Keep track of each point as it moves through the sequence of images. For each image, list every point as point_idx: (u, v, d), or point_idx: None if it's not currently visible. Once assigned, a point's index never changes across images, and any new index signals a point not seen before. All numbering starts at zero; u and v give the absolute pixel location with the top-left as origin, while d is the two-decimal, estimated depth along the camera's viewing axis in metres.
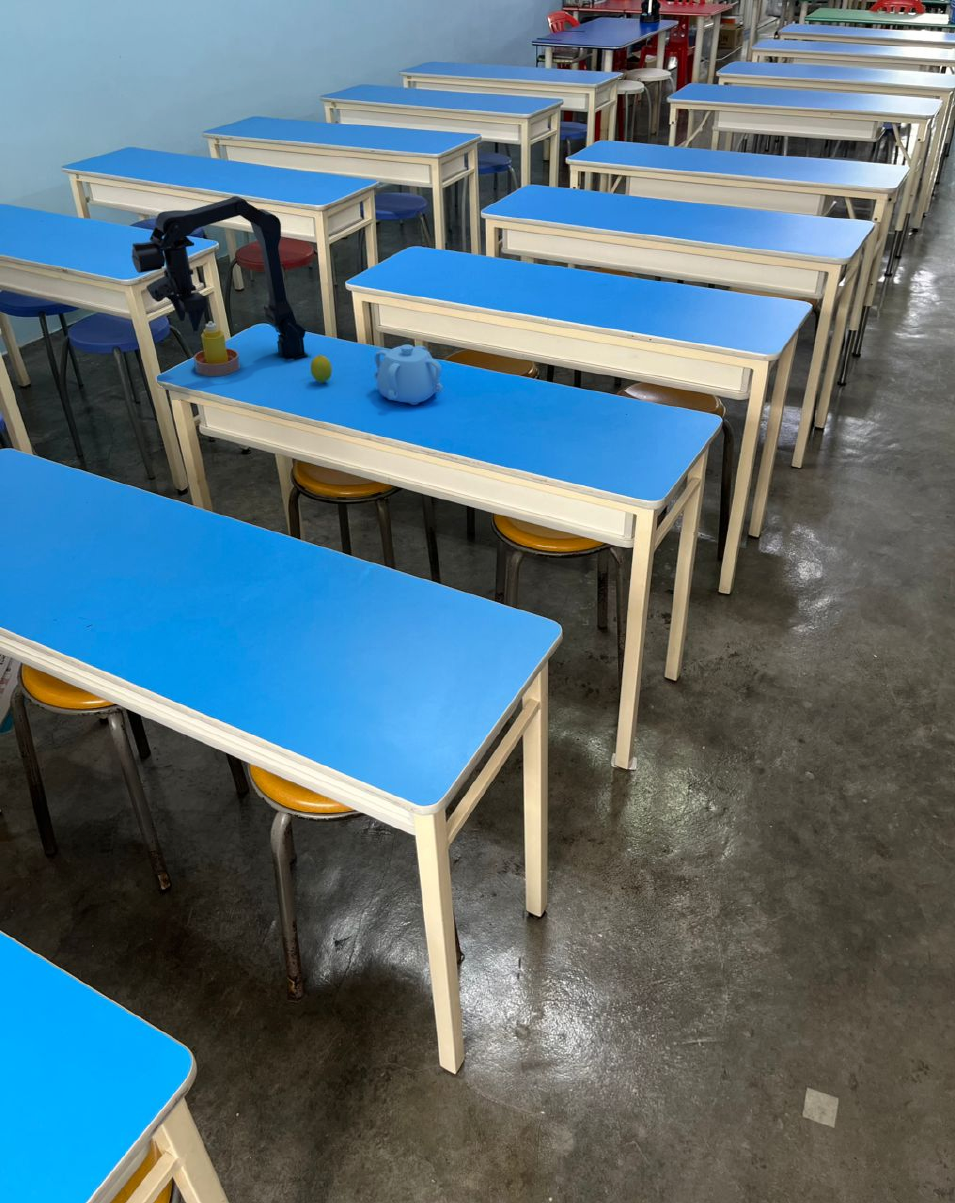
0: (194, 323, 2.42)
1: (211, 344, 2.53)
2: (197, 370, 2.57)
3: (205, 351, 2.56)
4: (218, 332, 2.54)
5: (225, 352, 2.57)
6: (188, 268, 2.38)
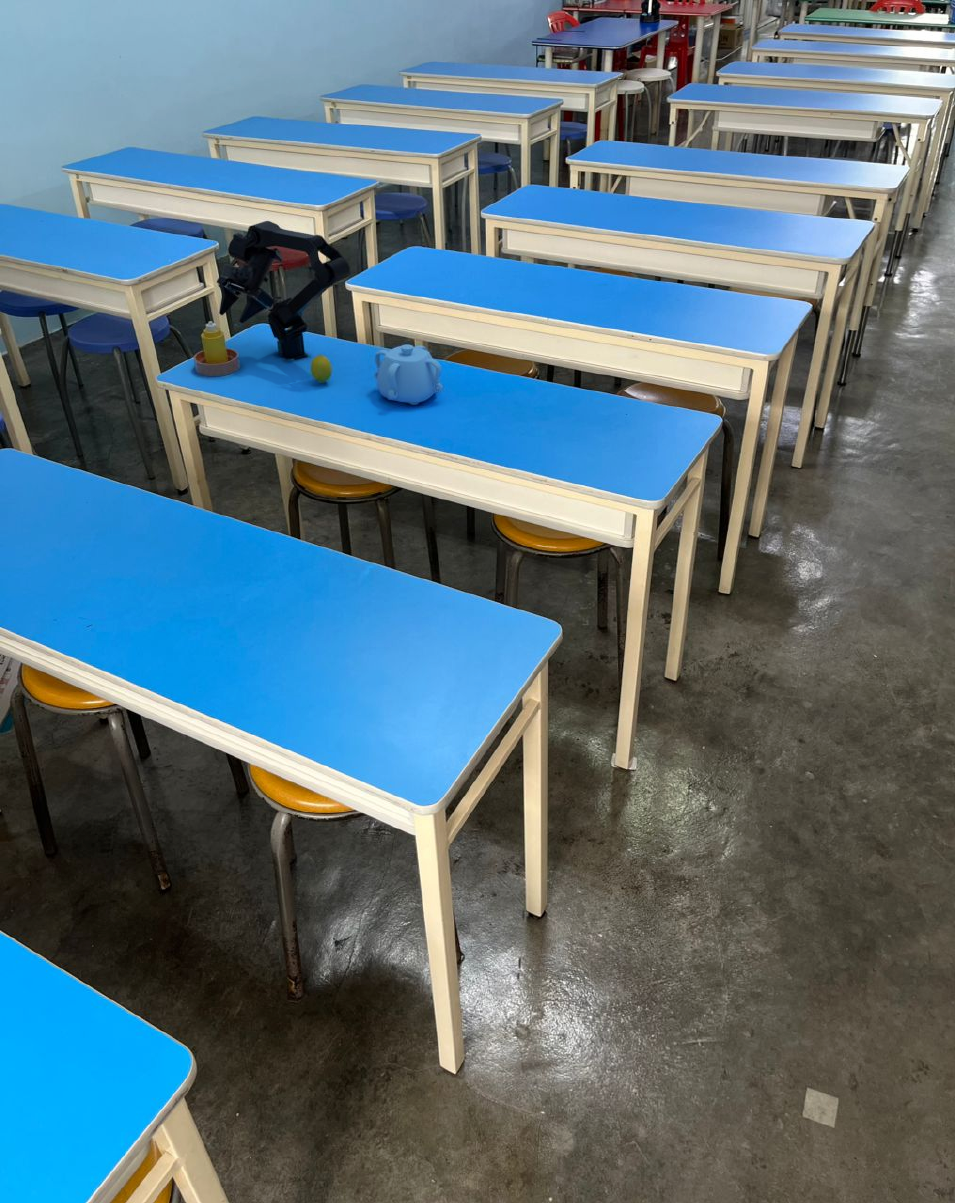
0: (246, 315, 2.54)
1: (211, 344, 2.53)
2: (197, 370, 2.57)
3: (205, 351, 2.56)
4: (218, 332, 2.54)
5: (225, 352, 2.57)
6: (266, 275, 2.57)
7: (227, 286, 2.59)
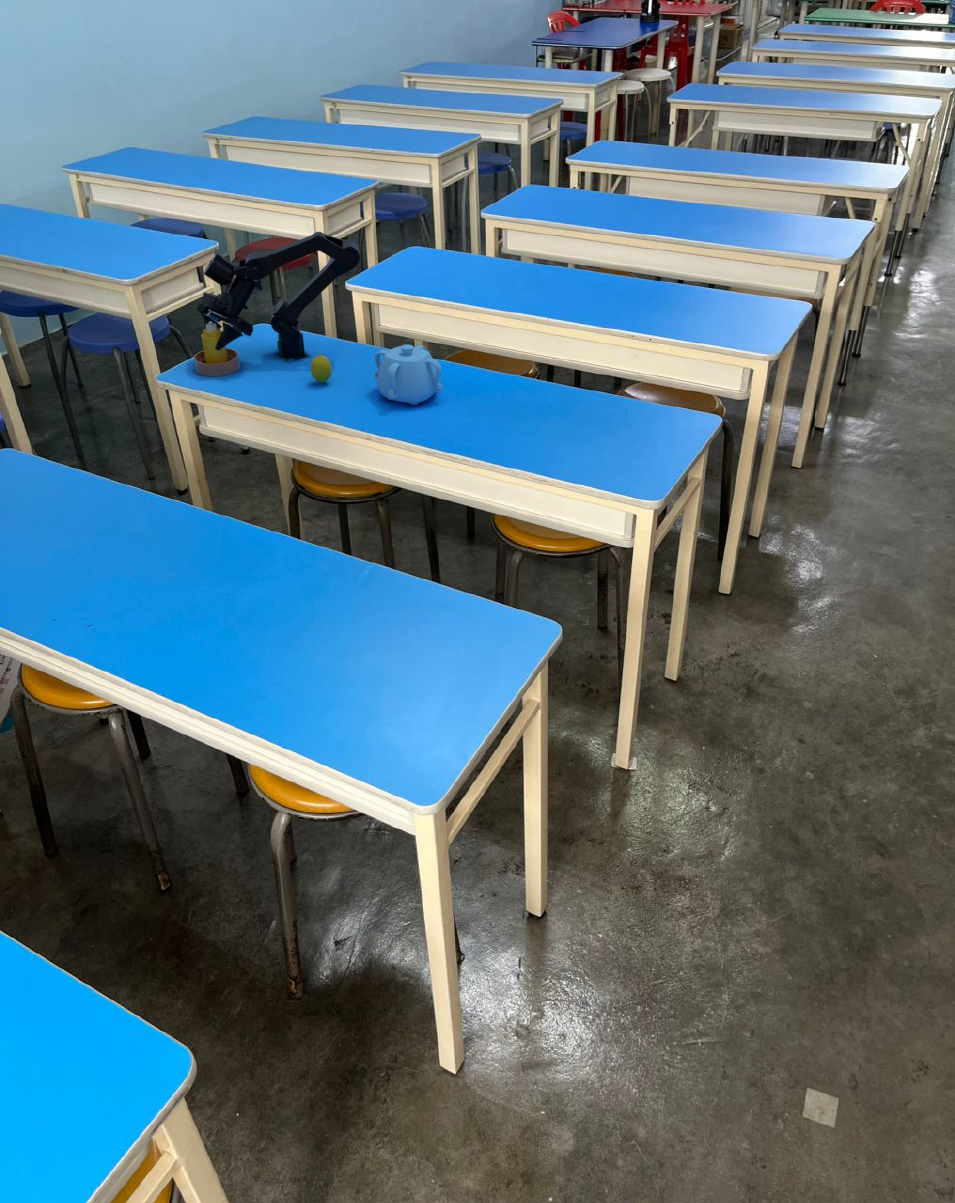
0: (222, 342, 2.54)
1: (211, 344, 2.53)
2: (197, 370, 2.57)
3: (205, 351, 2.56)
4: (218, 332, 2.54)
5: (225, 352, 2.57)
6: None
7: (210, 315, 2.57)
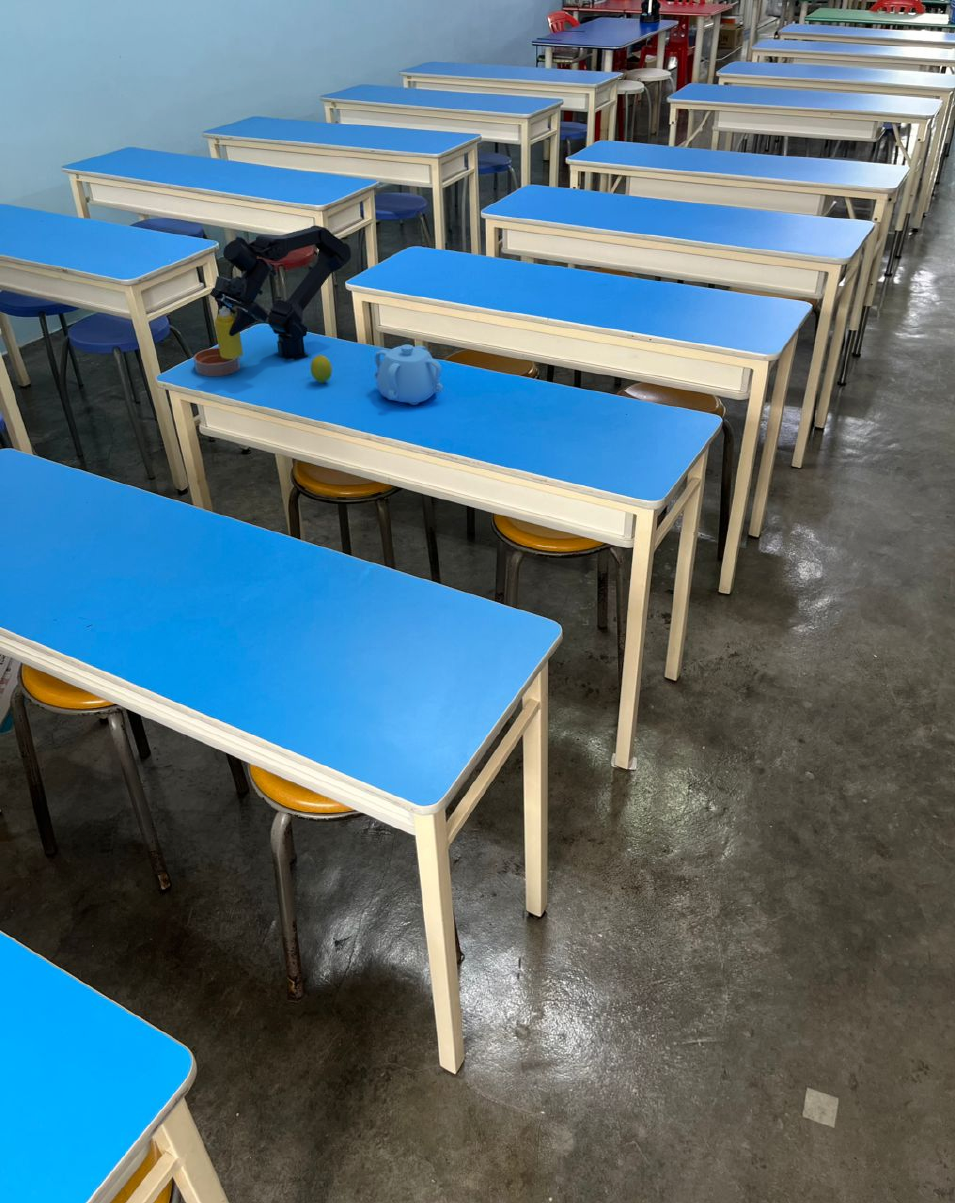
0: (236, 328, 2.46)
1: (225, 330, 2.46)
2: (197, 370, 2.57)
3: (218, 337, 2.48)
4: (232, 317, 2.46)
5: (239, 338, 2.50)
6: (260, 287, 2.49)
7: (224, 300, 2.49)
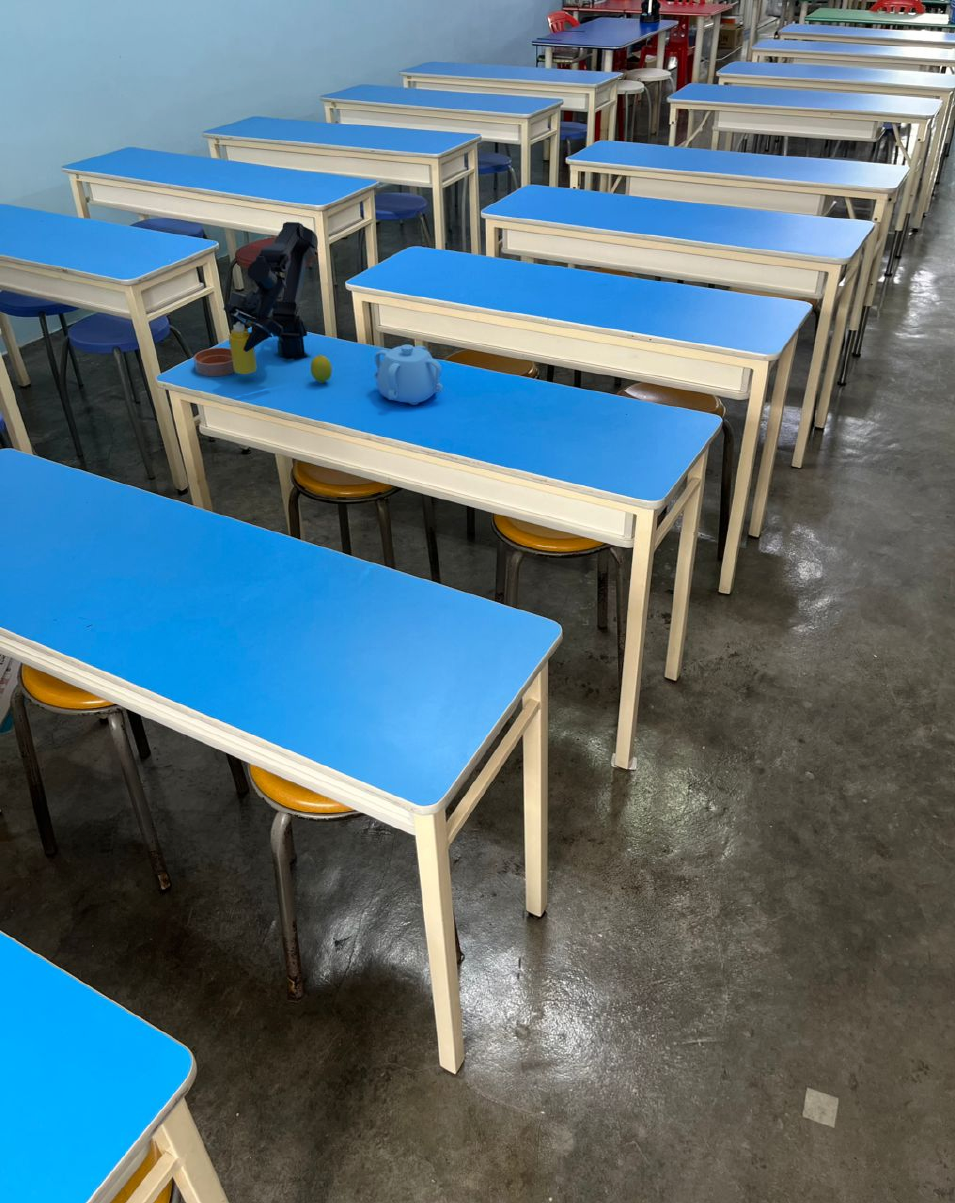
0: (250, 343, 2.45)
1: (239, 345, 2.45)
2: (197, 370, 2.57)
3: (233, 353, 2.47)
4: (246, 333, 2.45)
5: (253, 353, 2.49)
6: (274, 302, 2.48)
7: (237, 315, 2.48)
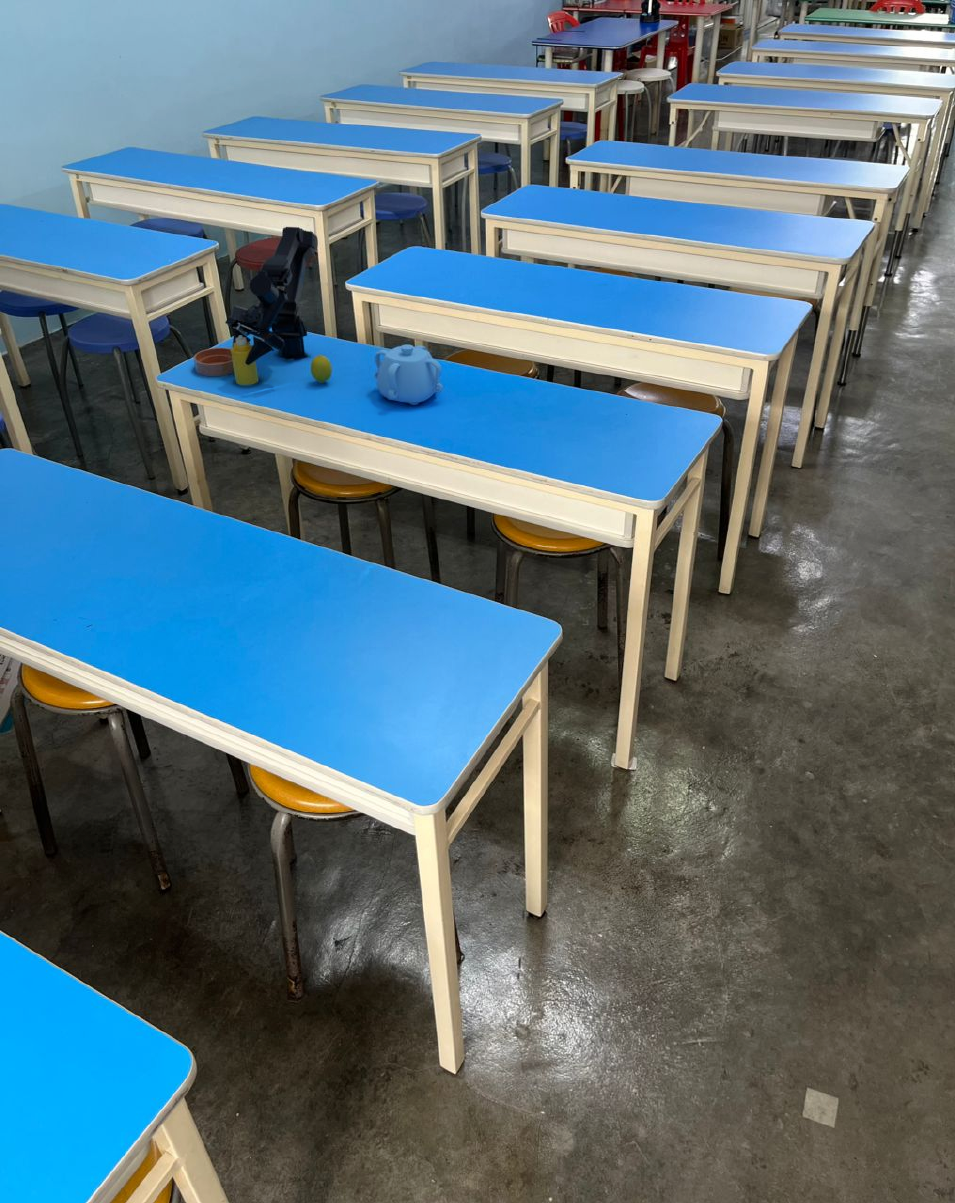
0: (252, 356, 2.47)
1: (241, 358, 2.47)
2: (197, 370, 2.57)
3: (235, 366, 2.49)
4: (248, 346, 2.47)
5: (255, 367, 2.51)
6: (276, 316, 2.50)
7: (239, 328, 2.50)
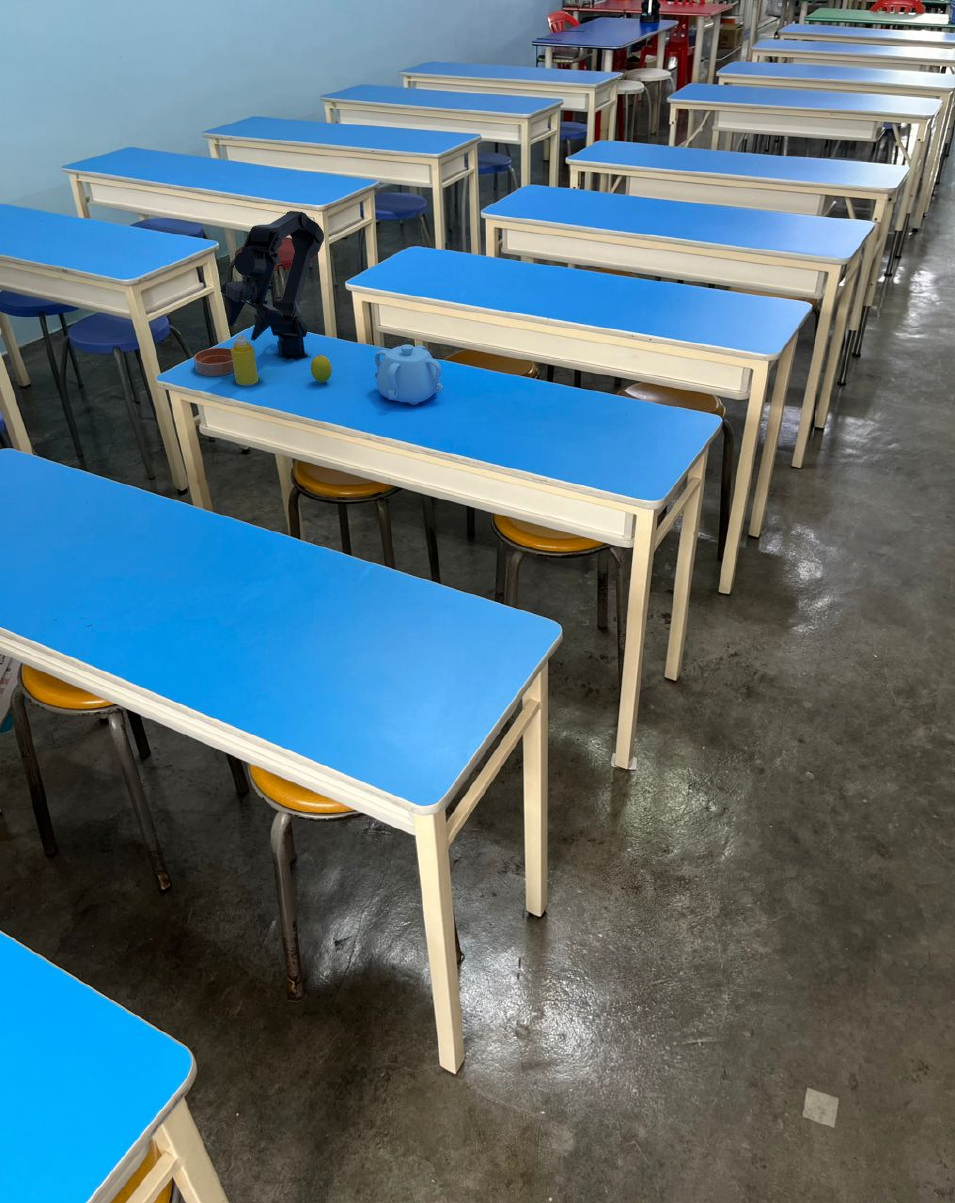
0: (257, 332, 2.49)
1: (241, 358, 2.47)
2: (197, 370, 2.57)
3: (235, 366, 2.49)
4: (248, 346, 2.47)
5: (255, 367, 2.51)
6: None
7: None
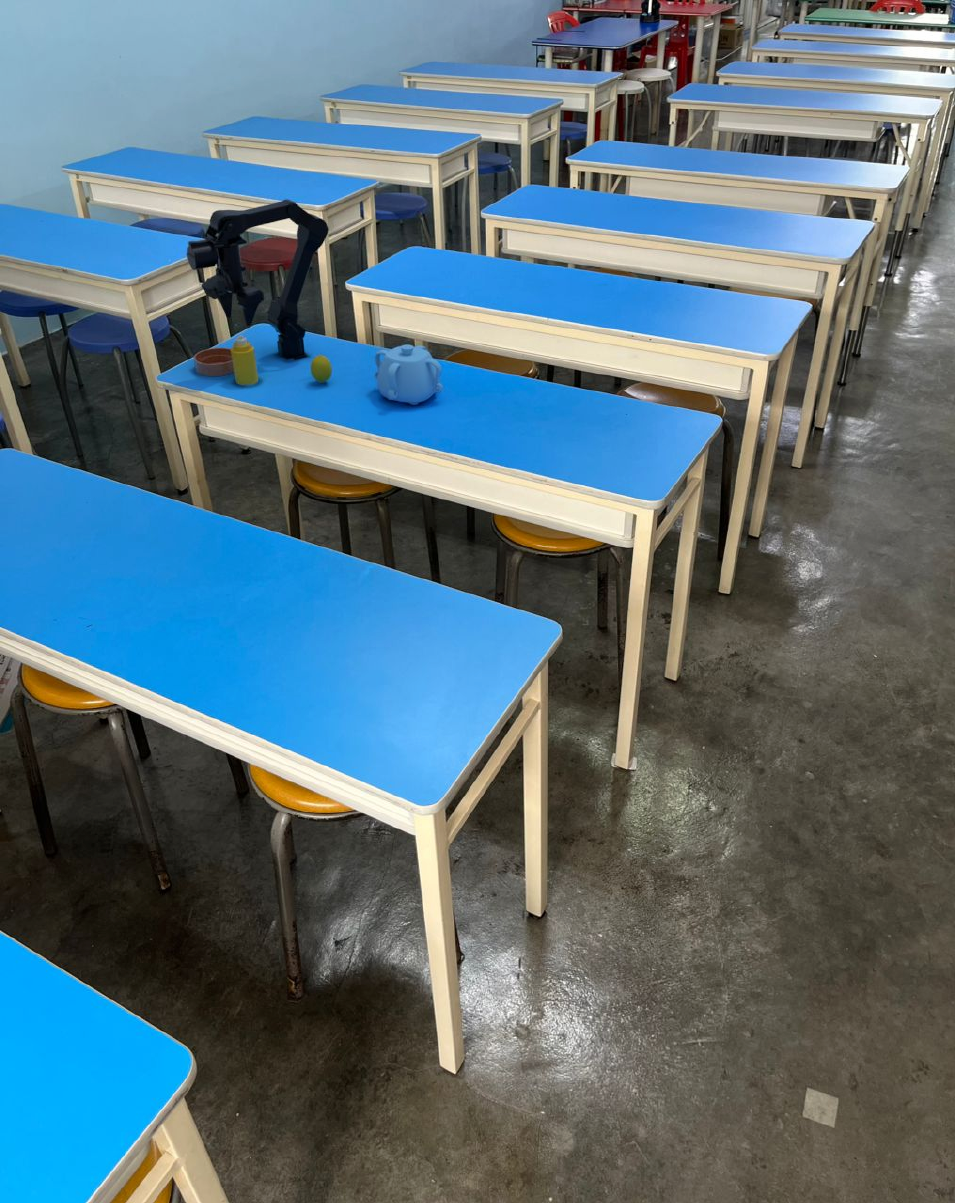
0: (249, 317, 2.50)
1: (241, 358, 2.47)
2: (197, 370, 2.57)
3: (235, 366, 2.49)
4: (248, 346, 2.47)
5: (255, 367, 2.51)
6: (241, 264, 2.46)
7: None
